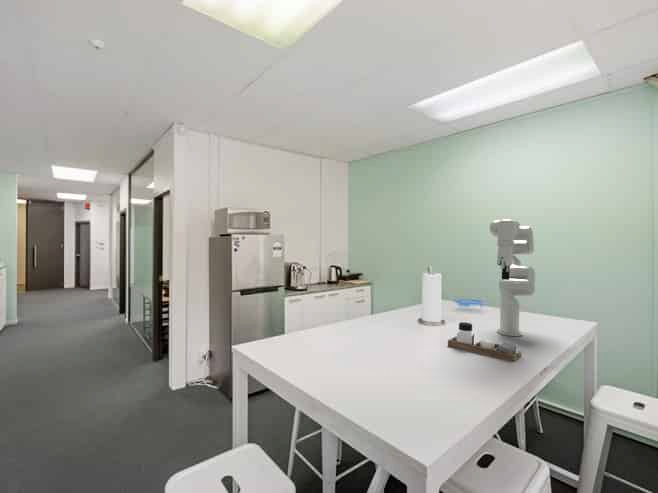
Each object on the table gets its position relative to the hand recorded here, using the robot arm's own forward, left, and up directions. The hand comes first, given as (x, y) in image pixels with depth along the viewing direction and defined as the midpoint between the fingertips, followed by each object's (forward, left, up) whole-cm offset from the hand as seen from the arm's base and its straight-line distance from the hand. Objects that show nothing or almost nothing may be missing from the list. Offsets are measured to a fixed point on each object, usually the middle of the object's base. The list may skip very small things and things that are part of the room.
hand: (505, 279), depth 162 cm
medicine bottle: (+20, -12, -33) cm, 41 cm away
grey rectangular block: (+20, +7, -33) cm, 39 cm away
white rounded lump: (+19, -2, -33) cm, 39 cm away
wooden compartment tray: (+19, -4, -33) cm, 39 cm away
